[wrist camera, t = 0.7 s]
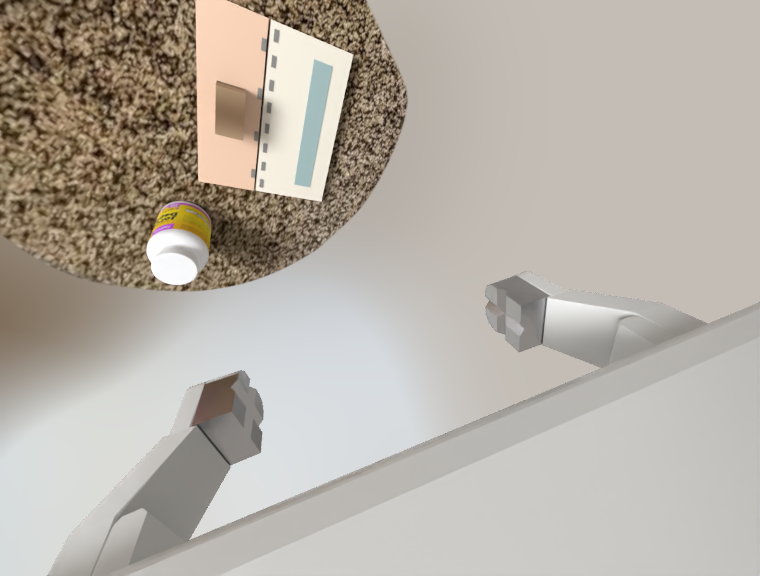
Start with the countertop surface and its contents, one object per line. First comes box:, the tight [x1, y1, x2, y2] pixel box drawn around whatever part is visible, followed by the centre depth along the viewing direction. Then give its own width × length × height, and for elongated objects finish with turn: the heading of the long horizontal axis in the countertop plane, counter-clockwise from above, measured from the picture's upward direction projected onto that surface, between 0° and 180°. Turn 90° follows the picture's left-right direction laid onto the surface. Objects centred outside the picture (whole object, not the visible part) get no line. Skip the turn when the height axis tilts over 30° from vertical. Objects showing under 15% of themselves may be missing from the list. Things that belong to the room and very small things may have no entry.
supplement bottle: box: [147, 201, 211, 285], centre depth 40 cm, size 7×7×13 cm
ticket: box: [255, 20, 353, 201], centre depth 42 cm, size 20×10×2 cm, turn 160°
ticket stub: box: [196, 0, 269, 190], centre depth 36 cm, size 20×7×6 cm, turn 160°
